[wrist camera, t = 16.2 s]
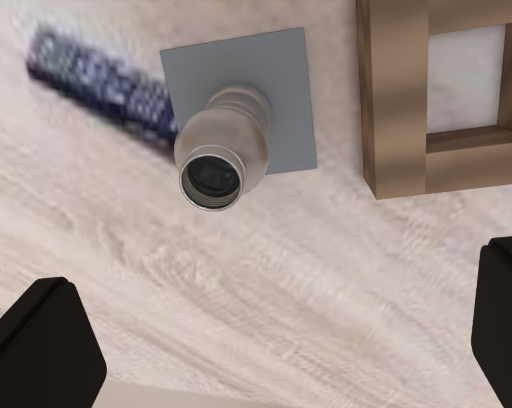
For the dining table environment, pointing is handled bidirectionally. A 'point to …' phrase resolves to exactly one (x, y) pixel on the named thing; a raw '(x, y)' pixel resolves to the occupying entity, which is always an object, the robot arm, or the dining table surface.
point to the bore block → (425, 100)
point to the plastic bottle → (224, 147)
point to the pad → (257, 76)
